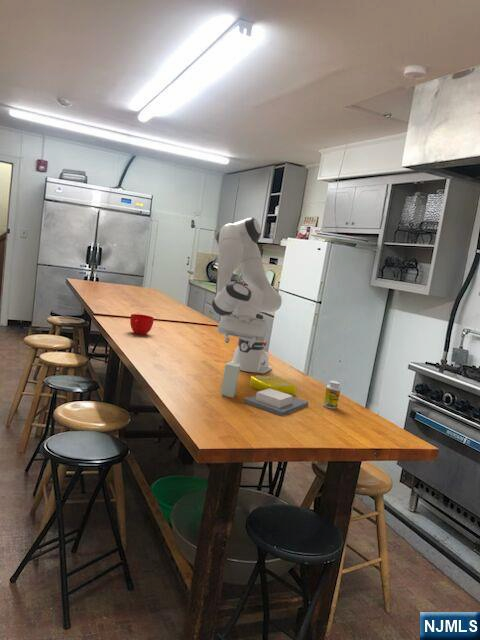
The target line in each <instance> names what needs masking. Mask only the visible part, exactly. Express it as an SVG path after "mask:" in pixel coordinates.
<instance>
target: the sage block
mask: <svg viewBox="0 0 480 640" xmlns="http://www.w3.org/2000/svg"><path fill="white" fill-rule="evenodd" d="M240 365H241V364H237V363H232V362H231V361H227V362H226V363H225V364H224V372H223V378H222V384H221V390H220V396H223V395H225V396H224V397H229V398H234V397H235V396H236V394H237V389H238V381H239V377H240V376H239V375H240V371H241V370H240Z"/></svg>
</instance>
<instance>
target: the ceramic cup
mask: <svg viewBox="0 0 480 640" xmlns="http://www.w3.org/2000/svg"><path fill="white" fill-rule="evenodd" d="M129 318H130V327H131V330H132V332H133V333H134V334H135V335H139V334H140V336H146V335H147V334H148V333H149V332H150V331H151V330H152V327H153V325H154V320H155V318H154V317H153V316H150V315H146V314H139V313H136V314H135V313H131V314H130V317H129Z"/></svg>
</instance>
